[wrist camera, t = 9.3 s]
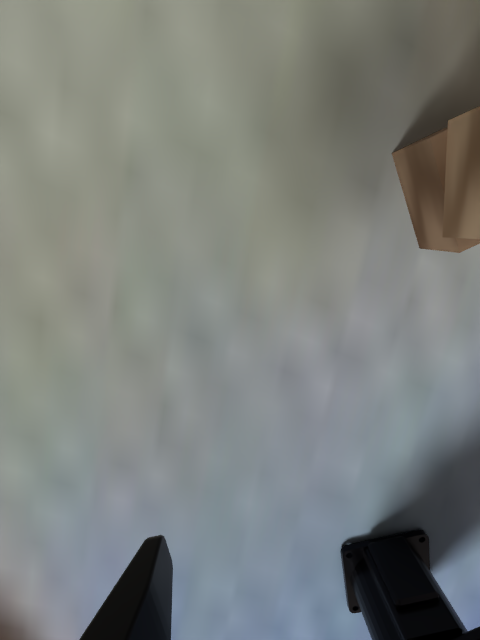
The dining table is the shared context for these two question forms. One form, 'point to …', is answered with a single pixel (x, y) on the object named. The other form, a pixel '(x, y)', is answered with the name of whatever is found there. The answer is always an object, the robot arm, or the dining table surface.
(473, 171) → the tower mid
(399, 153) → the tower base
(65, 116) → the dining table surface
